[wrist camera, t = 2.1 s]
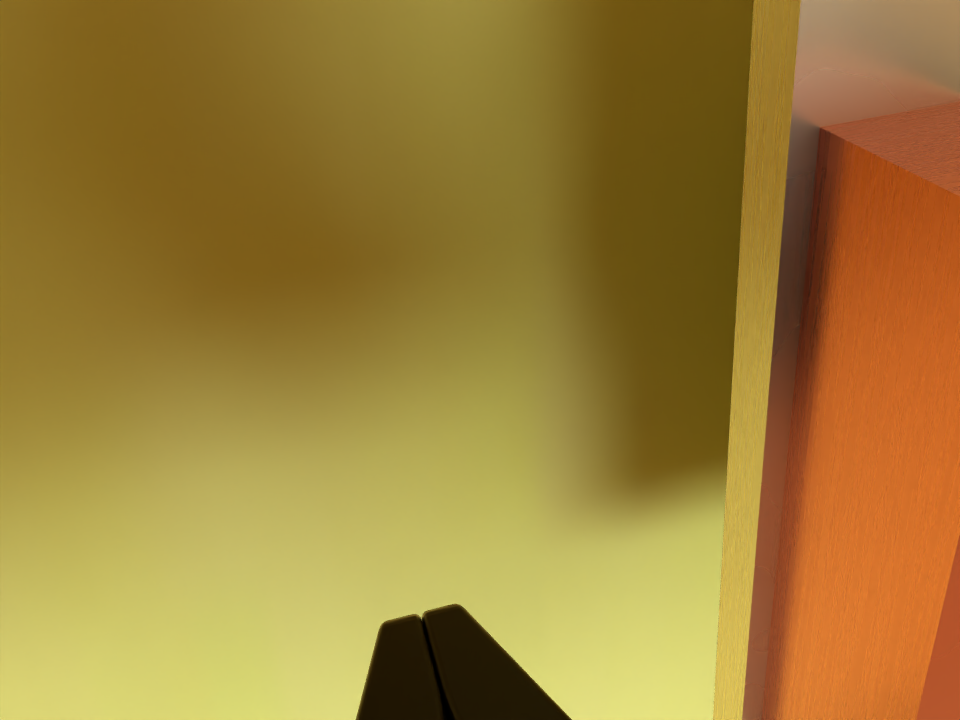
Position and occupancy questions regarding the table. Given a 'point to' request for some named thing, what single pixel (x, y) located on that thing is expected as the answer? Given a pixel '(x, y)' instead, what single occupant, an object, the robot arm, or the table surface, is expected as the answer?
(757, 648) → the lid
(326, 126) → the table surface
